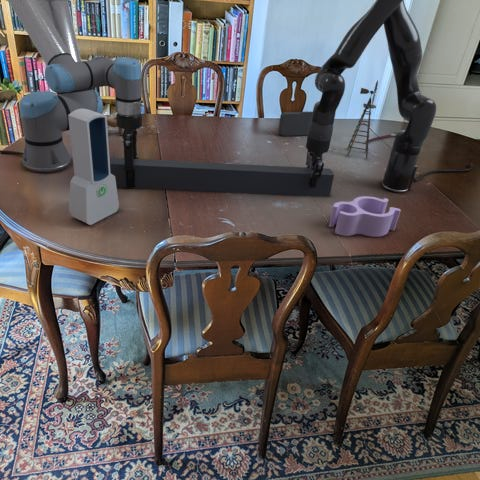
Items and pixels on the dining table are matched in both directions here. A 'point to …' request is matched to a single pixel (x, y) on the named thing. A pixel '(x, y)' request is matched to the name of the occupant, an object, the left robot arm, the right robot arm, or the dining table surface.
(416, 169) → the right robot arm
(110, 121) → the lion figurine
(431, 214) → the dining table surface
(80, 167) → the electronic device
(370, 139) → the sword
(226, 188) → the post
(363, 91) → the miniature windmill
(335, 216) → the clip
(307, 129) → the handheld gaming console
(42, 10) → the left robot arm
